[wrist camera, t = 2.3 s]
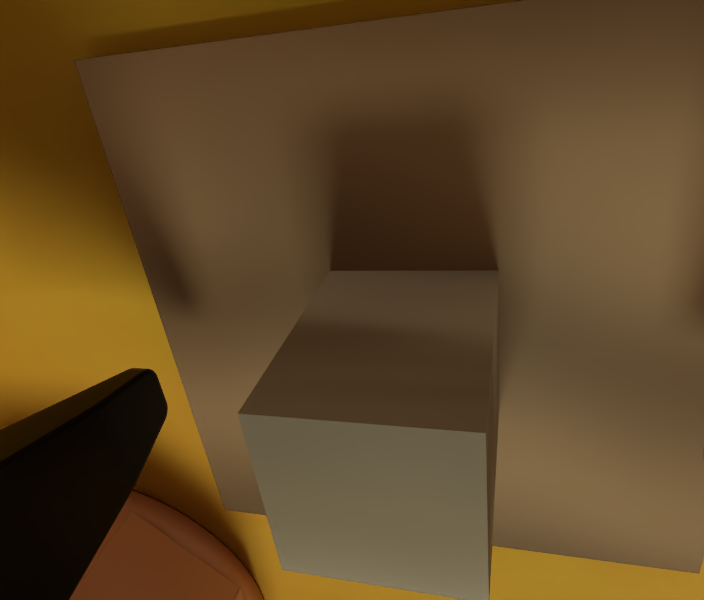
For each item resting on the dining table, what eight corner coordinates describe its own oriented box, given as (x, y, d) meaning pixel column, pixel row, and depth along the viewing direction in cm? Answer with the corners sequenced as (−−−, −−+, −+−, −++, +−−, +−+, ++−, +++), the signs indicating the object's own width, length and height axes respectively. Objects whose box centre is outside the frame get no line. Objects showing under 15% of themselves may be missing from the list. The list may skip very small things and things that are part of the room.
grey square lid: (687, 532, 12) (771, 817, 8) (241, 480, 16) (137, 667, 11) (819, -42, 7) (1227, -65, 3) (110, 53, 10) (-169, 106, 6)
